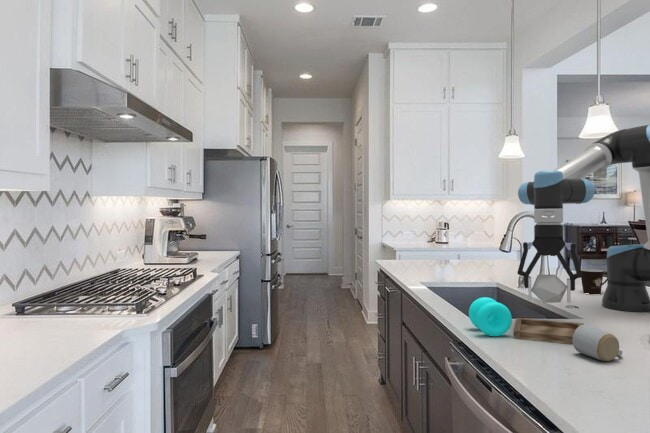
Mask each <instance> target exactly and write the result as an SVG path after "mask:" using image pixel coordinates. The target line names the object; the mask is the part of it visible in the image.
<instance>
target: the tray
mask: <svg viewBox="0 0 650 433" xmlns="http://www.w3.org/2000/svg"><path fill="white" fill-rule="evenodd" d="M583 324H585V323H583V322H569V321H557V320H548V319H535V318H525V317H524V318H523V317H515V324H514V328H513V339H518V340H529V341H538V342H545V341H547V343H555V342H556V344H564V343H565V344H567V345H573V342H572V339H573V334H574V332H575V330H576V329H577V328H578V327H579V326H581V325H583Z"/></svg>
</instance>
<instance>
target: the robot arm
mask: <svg viewBox="0 0 650 433" xmlns="http://www.w3.org/2000/svg"><path fill="white" fill-rule="evenodd" d="M625 163H627V164H628V163H631V166H632V169H633V170H634V171H636V172H638V176H639V178H638V179H639V185H640V190H641V198H642V206H643V214H644V221H645V230H646V234H647V242H645V243H640V244H638V243H636V244H624V245H623V244H622V245H611V246H609V247H608V248H607V250H606V268H607V271H606V273H607V275H606V279H607V282H606V288H605V291H604V293H603V297H602V299H601V305H602V306H603V307H604V308H607V309H612V310H617V311H625V312H650V295H649V292H648V291H647V284H646V283H647V282H648V283H650V124H646V125H641V126H635V127H629V128H624V129H619V130H616V131H614V132H611V133H609V134H607V135H605V136H603V137H601V138H600V139H597V140H596V141H594V142H593V143H591V144H590V145H588V146H587V147H586V148H585V150H584V152H581V153H579V155H577V156H575V157H573V158H571V159H570V160H568V161H567V162H565V163H563V164H562V165H560V166H558V167H556V168H555V169H553V170H540V171H537V172H536V173H535V174H534V176H533V181H528V182H524V183H522V184H520V186H519V188H518V191H517V196H518V199H519V201H520V202H521V203H522V204H524V205H532V206H534V208H533V215H534V216H533V217H534V219H533V222H534V223H535V224H534V227H533V232H534V233H533V234H534V235H533V236H534V237H533V241H530V242H527V241H524V242H523V243H522V248H523V249H522V250H523V251H522V255H521V258H520V261H519V264H518V265H519V266H518V268H517V269H518V270H517V275H519V276H521V277H523V286H524V287H523V288H525V289H528V300H529V301H532V291H531V290H532V276H530V274H531V273H532V271H533V269H534V268H535V266H536V264H537V263H538V261H539V260H540V258H541V256H543V257H546V256H547V257H548V256H551V257H557V258H558V261H559V262H560V263H561V265H562V267H563V268H564V270H565V273H566V274H567V275H568V278H566V286H567V289H566V302H567V303H571V302H572V301H571V300H572V299H571V296H572V295H571V294H572V293H571V292H574V291H575V290H576V279H581V277H582V273H581V269H582V268H581V267H580V263H579V259H578V257H577V253H576V246H577V245H576V243H575V242H566V241H565V240H564V225H563V224H562V223H563V222H564V205H568V204H572V205H573V204H576V205H580V204H586V203H588V202H590V201H591V200H592V199H593V197H594V195H595V186H594V184H593V183H592V181H590V180H588V179H586V177H588V176H590V175H591V174H593V173H594V172H596V171H598V170H603V169H607V168H608V167H610V166H612V165H617V164H618V165H619V164H625ZM532 247H534V249H535V250H536V253H535V255H534V257H533V259H532V260H531V262H530V263H529V265H528V266H527V269H526V270H525V271H524V267H525V263H526V259H527V257H528V252H529V250H531V248H532ZM565 247H566V249H567V250H568V251H569V253H570V257H571V260H572V262H573V266H574V269H575V273H573V271H572V270H571V268H570V266H569V265H568V263H567V261H566V260H565V258H564V256H563V255H562V253H561V251H562V250H563V249H564V248H565Z"/></svg>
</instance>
